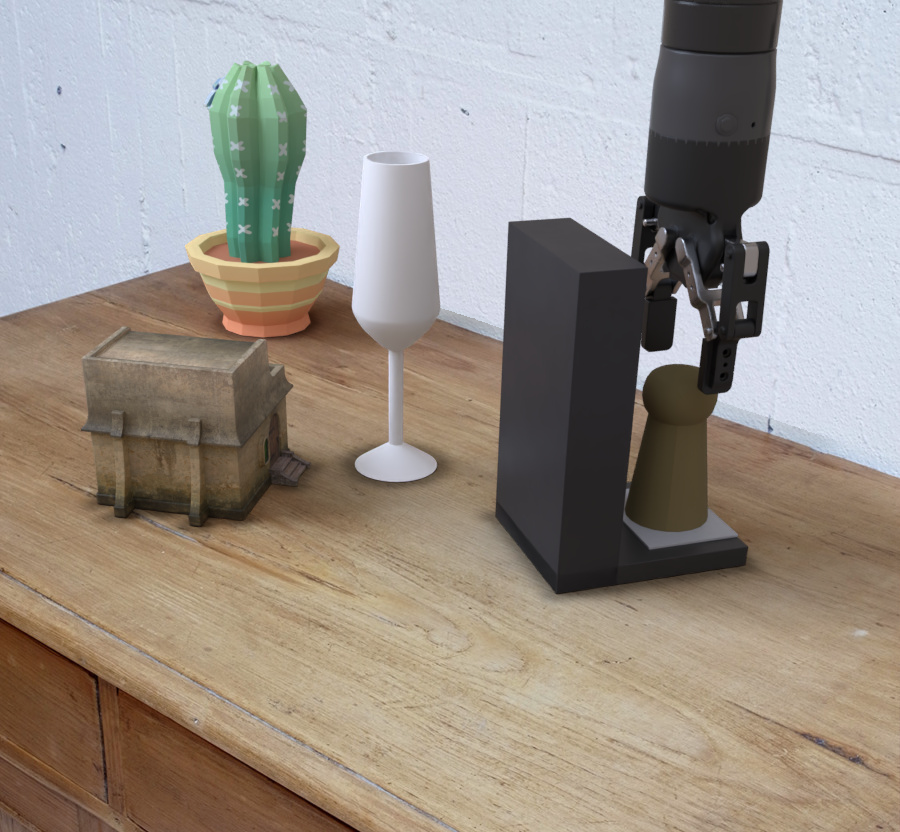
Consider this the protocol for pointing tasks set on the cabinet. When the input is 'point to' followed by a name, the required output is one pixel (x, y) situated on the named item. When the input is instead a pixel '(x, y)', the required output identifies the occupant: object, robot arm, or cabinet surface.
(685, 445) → the olive pawn figure
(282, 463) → the miniature house
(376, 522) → the cabinet surface
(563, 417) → the coffee maker
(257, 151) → the potted cactus
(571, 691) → the cabinet surface
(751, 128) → the robot arm
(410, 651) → the cabinet surface
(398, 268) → the champagne flute
